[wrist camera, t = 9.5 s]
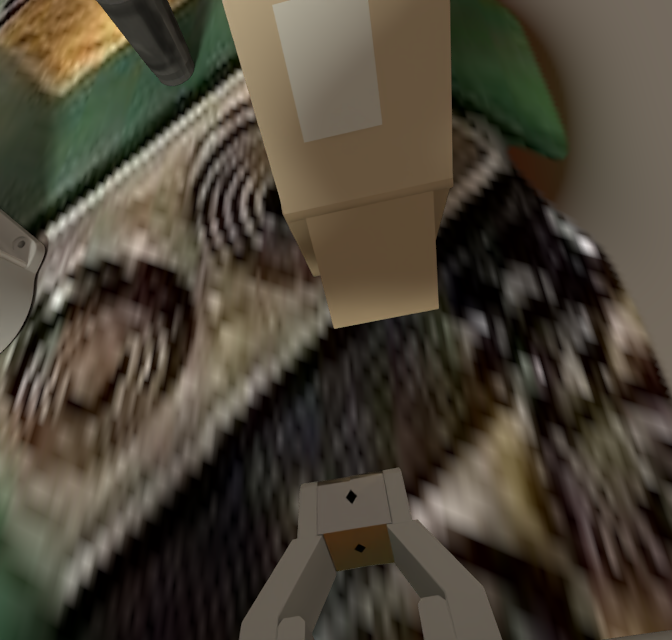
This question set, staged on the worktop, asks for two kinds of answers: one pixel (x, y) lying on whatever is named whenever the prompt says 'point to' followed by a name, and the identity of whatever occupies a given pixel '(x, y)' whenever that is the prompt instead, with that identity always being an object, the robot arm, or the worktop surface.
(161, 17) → the beverage cup
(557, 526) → the worktop surface
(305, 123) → the lid
